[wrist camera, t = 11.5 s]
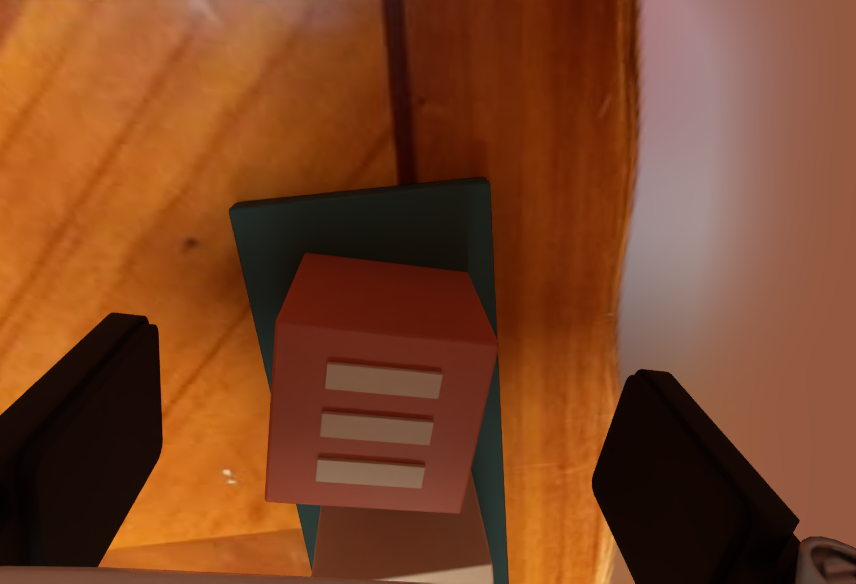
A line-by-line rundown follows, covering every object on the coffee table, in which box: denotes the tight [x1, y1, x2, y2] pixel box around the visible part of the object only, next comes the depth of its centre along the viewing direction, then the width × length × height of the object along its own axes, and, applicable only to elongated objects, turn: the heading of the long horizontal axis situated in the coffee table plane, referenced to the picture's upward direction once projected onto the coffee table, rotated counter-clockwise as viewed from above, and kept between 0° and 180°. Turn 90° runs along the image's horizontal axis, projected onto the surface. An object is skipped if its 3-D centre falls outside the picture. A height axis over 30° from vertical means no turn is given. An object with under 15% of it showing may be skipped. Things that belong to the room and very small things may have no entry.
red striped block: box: [265, 253, 499, 514], centre depth 14 cm, size 5×5×5 cm
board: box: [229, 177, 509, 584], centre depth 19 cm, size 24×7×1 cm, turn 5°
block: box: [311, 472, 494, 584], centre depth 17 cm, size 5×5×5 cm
